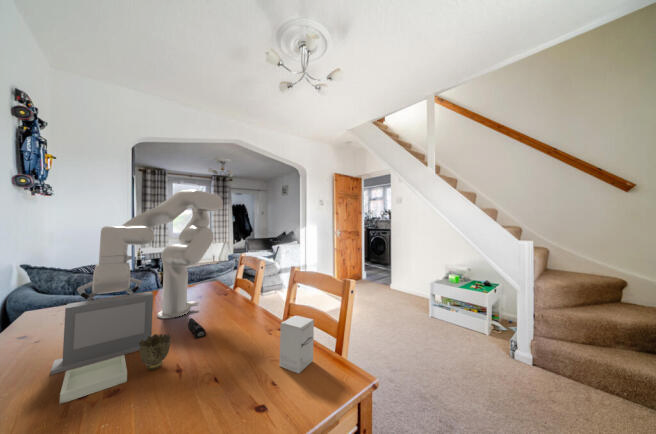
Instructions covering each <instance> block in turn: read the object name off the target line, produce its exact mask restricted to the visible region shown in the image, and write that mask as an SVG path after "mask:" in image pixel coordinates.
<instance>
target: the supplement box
mask: <svg viewBox="0 0 656 434" xmlns="http://www.w3.org/2000/svg"><path fill="white" fill-rule="evenodd" d="M314 321H315V319H313V318H308V317H304V316H301V315H294V316H292V317H289V318H287V319H286V320H284V321H282V322H281V323H280V330H279V331H280V337H279V340H280V341H279V367H281V368H282V369H285V370H288V371H291V372H293V373H296V374H300V373H301V372H303V371H304V369H306V368H307V367H308V366H309V365H310V364H311V363H313V361H314V337H315V336H314V335H315V333H314V328H315V327H314V326H315V325H314V324H315V322H314Z"/></svg>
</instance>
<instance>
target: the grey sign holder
mask: <svg viewBox="0 0 656 434" xmlns="http://www.w3.org/2000/svg"><path fill="white" fill-rule="evenodd" d="M153 302H154V294H153V293H152V291H145V292H139V293H133V294H131V295H127V294H126V295H119V296H113V297H105V298H100V299H99V298H97V299H94V300H90V301H87V300H85V301H79V302H78V301H77V302H71V303H67V304H66V306H65V307H64V308H65V310H64V311H65V312H64V324H63V325H64V328H63V346H62V347H63V348H62V357H61V358H58V359H54V361H53V363H52V366H51V368H50V375H54V374H59V373H62V372H66V371H68V370H72V369H76V368H79V367H83V366H86V365H90V364H94V363H97V362H101V361H104V360H108V359H112V358H115V357H119V356H122V355H127V354H131V353H135V352H138V351H139V352H140V347H139V342H141V340H143V341H145V340H147V337H148V336H151V337H152V336H153V335H152V332H153V331H152V329H153V328H152V327H153V307H154V303H153Z"/></svg>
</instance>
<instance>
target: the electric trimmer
mask: <svg viewBox="0 0 656 434" xmlns="http://www.w3.org/2000/svg"><path fill="white" fill-rule="evenodd" d="M187 325H188V328H189V331H192V332H193V333H194V338H195V339H197V340H198V339H201V338H204V337H206V336H207V332H206V330H205V328H204V327H203V326H202V325H201V324H199V323H198V322H197V321H196V320H195V319H194V318H192V317H191V318H189V319H188V322H187Z"/></svg>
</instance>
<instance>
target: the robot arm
mask: <svg viewBox="0 0 656 434" xmlns="http://www.w3.org/2000/svg"><path fill="white" fill-rule="evenodd" d="M223 204H224V202H223V199H222V197H221V196H220V195H218V194H216V193H211V192H206V191H202V190H198V189H187V190H186V189H185V190H179V191H177V192H175V193H174V194H172V195H170V197H168V198H167V199H165V200H164V201H162V202H161V203H160V204H159V205H156V207H153V208H150V209H149V210H147V211H143V212H142V213H140V214H138V215H136V216H134V217H132V218H131V219H129V220H128V221H126V222H125V223H123V224H122V225H120V226H117V225H116V226H115V225H109V226H108V225H107V226H103V227H102V228H101V230H100V240H99V254H98V255H99V258H98V264H95V267H94V269H93V276H92V281H90V282H88V283H86V284H83V285H81V286H79V287H77V288H76V291H77V293H78V294H79V295H80V297H82V298H83V299H85V301H90V300H95V299H94V298H95V297H96V296H97V295H101V294H109V293H117V292H124V291H125V292H126V293H127V294H126V295H131V294H135V293H136V292H137V291H138V290H139V288H140V287H141V285H142V284H143V281H142V280H140V279H136V278H133V277H131V266H130V262H129V261H130V260H132V259H133V255H128V247H129V245H130V246H131V245H132V246H145V245H149V244H150V243H152V242H153V240H154V238H155V235H156V234H155V232H154V230H153V229H152V228H155V227H157V226H160V225H161V226H162V225H166V224H169V223H171V222H173V221H174V220H176V219H177V218H178V217H179V216H180V215H181V214H183V213H184V212H185V211H186V210H188V209H191V210H192V211H191V212H192V217H191V218H190V220H189V222H188V223H187V224H186V225H185V227H184V228H183V229H182V230H181V232H180V234H179V235H178V241H179V242H180V244H176V243H175V244H170V245H168V246H166V247H165V248H164V249H163V250H162V252H161V263H162V269H163V271H162V272H163V274H162V277H163V278H162V280H163V281H162V300H161V301H162V303H161V304H162V306H161V310H160V311H159V312H157V317H158V318H160V319H166V320H167V319H174V318H175V317H176V318H180V317H183V316H185V315H184V314H186V315H188V314H189V313H190V312H191V309H192V307H197V306H199V302H198V301H188V283H189V282H188V281H189V279H188V278H189V274H188V273H189V272H188V268H187V267H194V266H196V265H198V264H199V263H200V262H201V260H202V259H203V258H204V256H205V255H206V253H207V251H208V250H209V248H210V246H211V245H212V243H213V241H214V233H213V230H212V229H211V228H210V227H208V226H209V224H210V218H209V214H208V212H218V211H219V210H221V208H222V207H223V206H224V205H223ZM131 283H134V284H135V286H133V287H132V289H131V288H130V287H131ZM88 288H91V293H90V294H89V293H87V292H86V291H85V290H86V289H88ZM189 311H190V312H189ZM188 312H189V313H188ZM187 313H188V314H187ZM182 315H183V316H182ZM179 316H180V317H179Z"/></svg>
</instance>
